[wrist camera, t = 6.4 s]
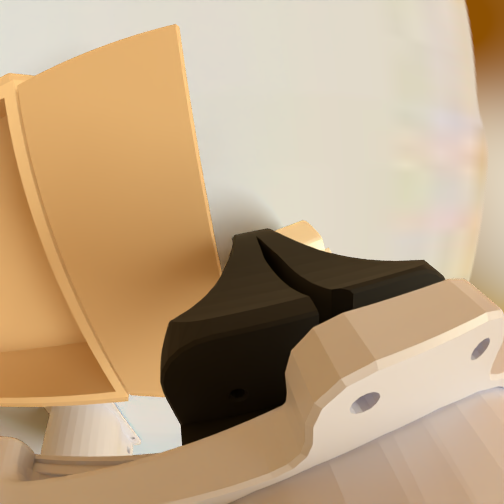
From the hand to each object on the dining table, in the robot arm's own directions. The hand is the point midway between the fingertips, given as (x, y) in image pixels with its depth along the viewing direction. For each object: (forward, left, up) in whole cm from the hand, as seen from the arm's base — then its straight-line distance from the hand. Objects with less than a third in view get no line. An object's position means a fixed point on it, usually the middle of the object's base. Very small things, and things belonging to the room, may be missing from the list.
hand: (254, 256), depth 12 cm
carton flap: (0, +5, -1) cm, 5 cm away
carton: (0, +16, -8) cm, 18 cm away
